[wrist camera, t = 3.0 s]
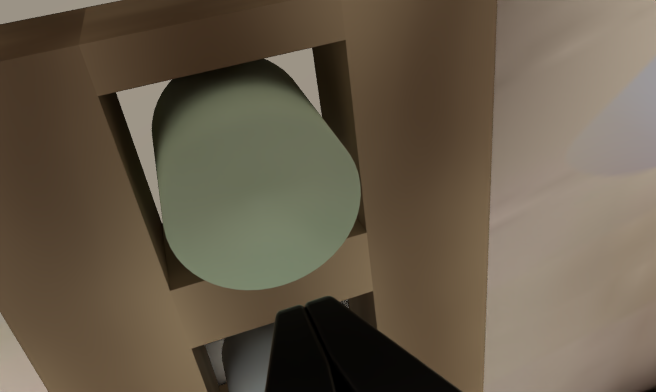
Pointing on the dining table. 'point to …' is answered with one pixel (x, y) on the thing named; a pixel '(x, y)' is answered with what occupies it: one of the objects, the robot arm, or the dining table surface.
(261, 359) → the button slate
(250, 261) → the button sage
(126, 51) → the brown button tray
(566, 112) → the dining table surface
